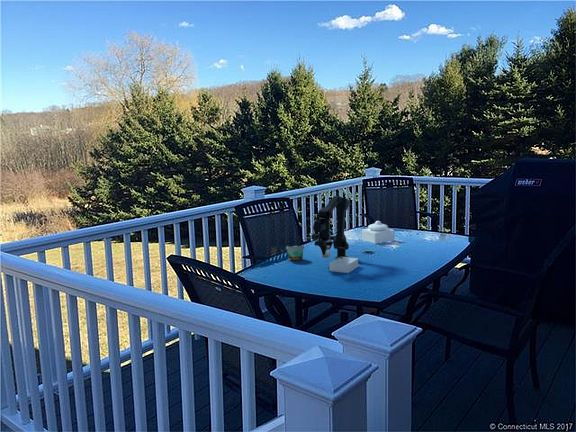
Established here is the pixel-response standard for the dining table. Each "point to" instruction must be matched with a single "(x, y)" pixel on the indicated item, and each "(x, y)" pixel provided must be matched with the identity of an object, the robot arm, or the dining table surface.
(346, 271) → the camera body
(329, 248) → the steel lens
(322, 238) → the robot arm
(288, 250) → the food container
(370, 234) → the butter dish
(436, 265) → the dining table surface
